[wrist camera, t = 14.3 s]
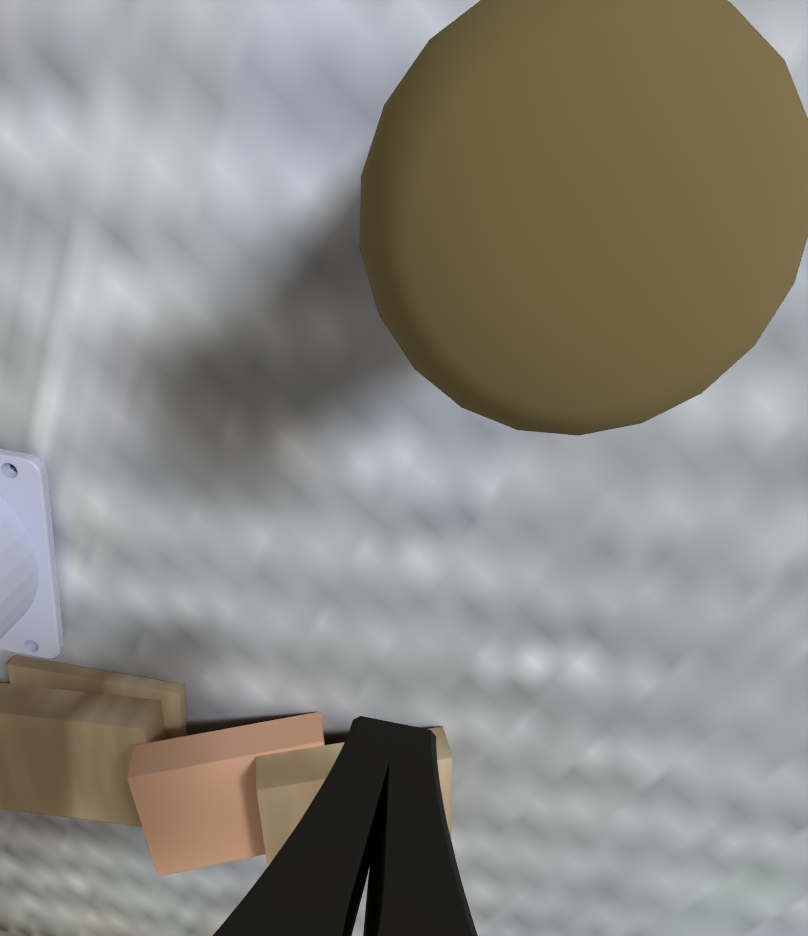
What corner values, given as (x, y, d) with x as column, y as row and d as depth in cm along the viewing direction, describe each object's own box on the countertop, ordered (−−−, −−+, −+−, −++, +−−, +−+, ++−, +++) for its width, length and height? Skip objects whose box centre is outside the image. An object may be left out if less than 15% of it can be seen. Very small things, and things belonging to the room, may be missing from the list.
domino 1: (197, 761, 29) (44, 734, 29) (194, 667, 26) (29, 639, 27) (183, 790, 27) (24, 761, 28) (179, 694, 25) (6, 664, 25)
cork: (513, 350, 19) (532, 594, 9) (359, 167, 17) (176, 217, 7) (717, 188, 16) (1044, 275, 7) (560, -38, 15) (682, -360, 5)
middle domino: (176, 797, 27) (20, 778, 28) (160, 699, 25) (-8, 681, 26) (161, 828, 26) (-2, 808, 27) (143, 729, 24) (-34, 709, 25)
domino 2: (333, 807, 27) (162, 841, 26) (320, 711, 25) (133, 745, 24) (337, 838, 26) (158, 876, 25) (323, 740, 24) (127, 778, 23)
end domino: (441, 823, 27) (270, 854, 26) (442, 726, 25) (256, 756, 24) (450, 856, 26) (271, 890, 25) (452, 757, 24) (256, 790, 23)
